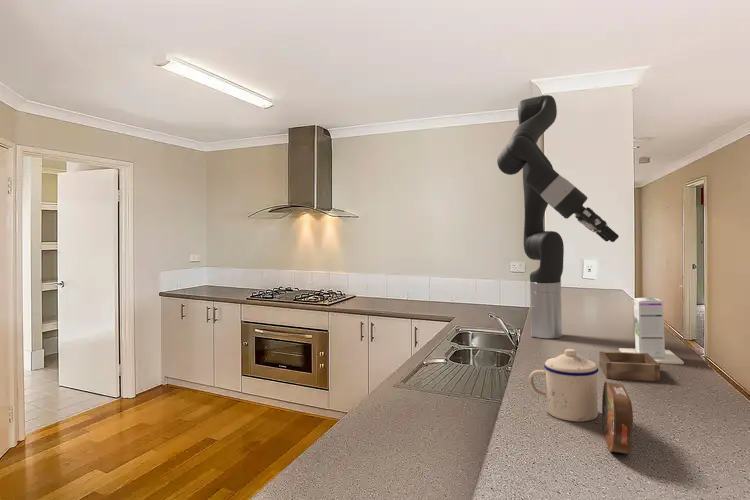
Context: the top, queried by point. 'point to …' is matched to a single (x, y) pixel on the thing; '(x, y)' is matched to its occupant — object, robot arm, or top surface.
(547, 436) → the top surface
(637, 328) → the syrup box
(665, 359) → the cream board
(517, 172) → the robot arm
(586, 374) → the teacup with lid
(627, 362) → the walnut collar
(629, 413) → the tin
